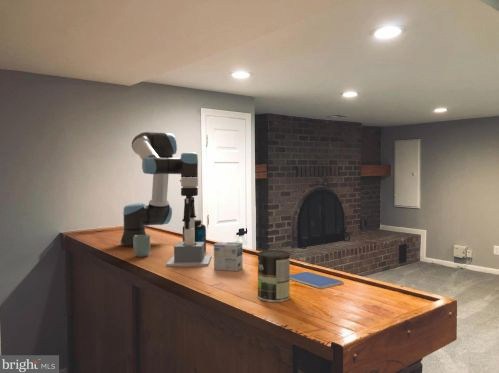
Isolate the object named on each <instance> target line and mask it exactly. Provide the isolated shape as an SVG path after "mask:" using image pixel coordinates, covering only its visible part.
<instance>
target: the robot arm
mask: <svg viewBox="0 0 499 373" xmlns="http://www.w3.org/2000/svg"><path fill="white" fill-rule="evenodd" d="M177 145H178V144H177V140H176V137H175V135H174V134H173V133H169V132H151V131H145V132H140V133H139V134H137V135H135V136H134V138H133V139H132V141H131V148H132V151H133V153H135V154H136V155H138V156H139V158H140V159H141V160H142V162H141V170H142V172H143V173H144V174H147V175H148V174H149V175H152V187H151V188H152V189H151V190H152V192H151V199H150V200H149V201H148V205H146V204H145V203H143V202H140V203H131V204H128V205H125V206H124V207H123V211H122V214H123V232H122V236H121V239H120V246H121V247H127V248H129V247H133V248H134V244H133V238H134V236H135V235H147V233H146V226H162V225H167V224H169V223H170V222H171V220H172V215H173V207H172V205H171V204H170V202H169V200H168V187H169V186H168V185H169V175H180V179H179V182H180V187H181V188H180V195H181V197H185V198H184V205H183V206H184V207H183V218H182V220H181V221H182V222H183V226H184V236H191V228H195V220H196V219H195V218H197V215H196V210H195V197H197V196H199V192H198V191H199V188H198V186H199V172H198V171H199V158H198V154H197V153H196V152H183V153H181V154H180V157H173V156H175V155H176V154H177V151H178V148H177V147H178V146H177Z"/></svg>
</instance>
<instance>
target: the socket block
mask: <svg viewBox="0 0 499 373" xmlns="http://www.w3.org/2000/svg"><path fill="white" fill-rule="evenodd" d="M211 259H212V255H208V254H207V255H205V252H204V242H195V245H185V242H183V241H178V242H177V243H176V244H175V245H174V246H173V256H172V257H171V258H170V259H169V260H168V261H167V262H166V264H165V267H208V266H209V265H210V262H211Z"/></svg>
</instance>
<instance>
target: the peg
mask: <svg viewBox="0 0 499 373" xmlns="http://www.w3.org/2000/svg"><path fill="white" fill-rule="evenodd" d="M185 245H195V228H191V236H185Z"/></svg>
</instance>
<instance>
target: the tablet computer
mask: <svg viewBox="0 0 499 373" xmlns="http://www.w3.org/2000/svg"><path fill="white" fill-rule="evenodd" d="M290 280H291V281H292V282H293V281H294V282H297V283H299V284H300V283H301V284H303V285H307V286H310V287H313V288H316V289H319V290H323V289H327V288H331V287H335V286H339V285H344V281H343V280H339V279H337V278H331V277H329V276H324V275H321V274H317V273H313V272H310V271H303V272H298V273H294V274H293V273H292V274H290Z"/></svg>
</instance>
